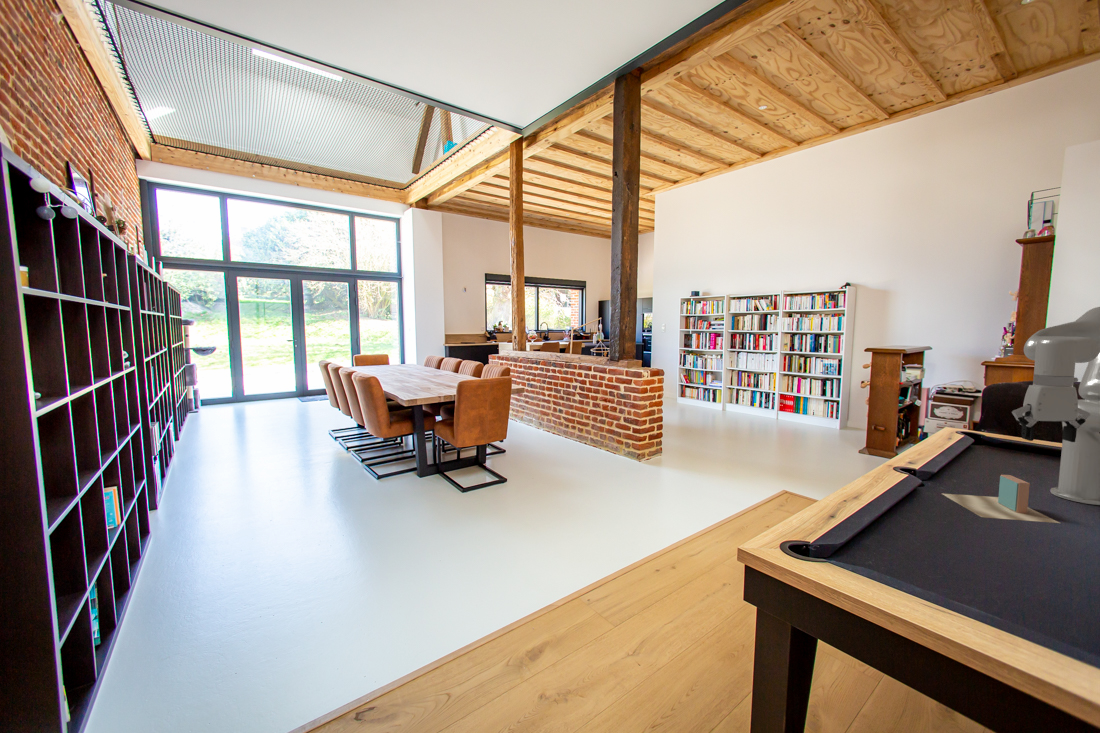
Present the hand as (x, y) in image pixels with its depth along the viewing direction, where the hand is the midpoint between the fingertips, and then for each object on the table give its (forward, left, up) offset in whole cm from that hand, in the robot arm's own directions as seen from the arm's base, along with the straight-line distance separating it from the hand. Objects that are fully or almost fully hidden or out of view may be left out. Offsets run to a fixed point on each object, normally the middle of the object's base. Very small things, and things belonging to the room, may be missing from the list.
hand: (1047, 440), depth 125 cm
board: (+11, 0, -22) cm, 25 cm away
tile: (+7, 0, -21) cm, 22 cm away
